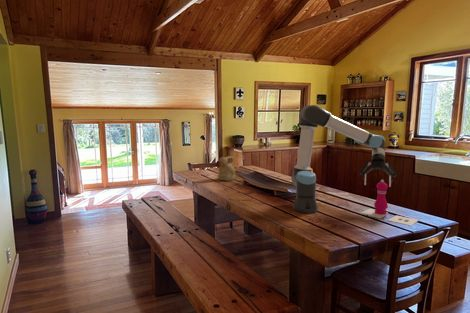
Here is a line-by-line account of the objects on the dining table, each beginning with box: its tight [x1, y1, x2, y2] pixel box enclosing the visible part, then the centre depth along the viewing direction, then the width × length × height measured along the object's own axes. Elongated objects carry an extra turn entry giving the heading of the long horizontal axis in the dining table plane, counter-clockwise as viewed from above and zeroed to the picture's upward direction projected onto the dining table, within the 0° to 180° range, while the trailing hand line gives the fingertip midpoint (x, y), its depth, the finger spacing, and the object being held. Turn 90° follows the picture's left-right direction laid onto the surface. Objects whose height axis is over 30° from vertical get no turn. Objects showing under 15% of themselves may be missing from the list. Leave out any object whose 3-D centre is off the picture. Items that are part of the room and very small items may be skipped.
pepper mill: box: [373, 179, 389, 215], centre depth 187 cm, size 7×7×20 cm
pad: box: [360, 208, 389, 219], centre depth 189 cm, size 11×11×1 cm
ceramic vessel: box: [217, 151, 236, 182], centre depth 291 cm, size 17×20×25 cm
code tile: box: [387, 215, 420, 227], centre depth 178 cm, size 12×12×1 cm
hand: (377, 184), depth 190 cm, fingers open, 13 cm apart
